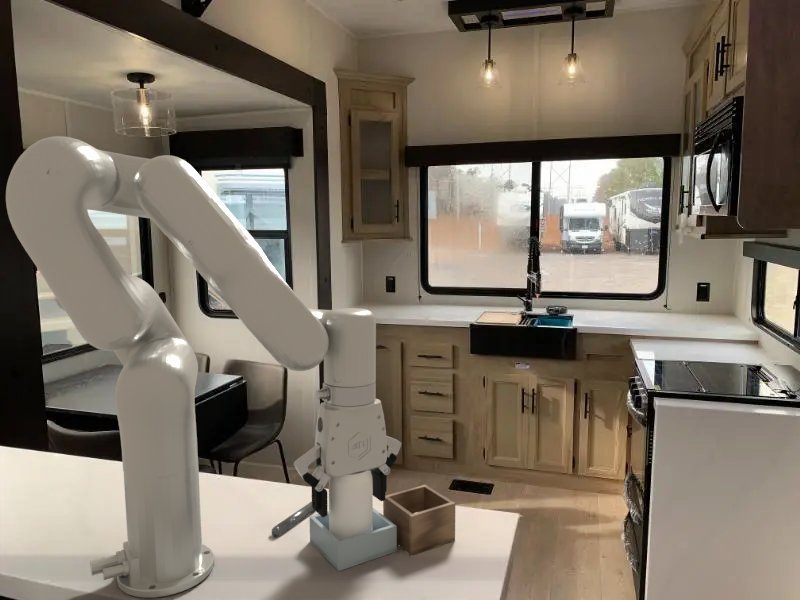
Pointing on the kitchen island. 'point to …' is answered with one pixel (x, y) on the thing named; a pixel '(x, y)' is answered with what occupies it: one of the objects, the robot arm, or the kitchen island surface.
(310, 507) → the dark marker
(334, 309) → the robot arm
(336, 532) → the can
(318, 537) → the light blue tray
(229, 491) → the kitchen island surface
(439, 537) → the walnut box
